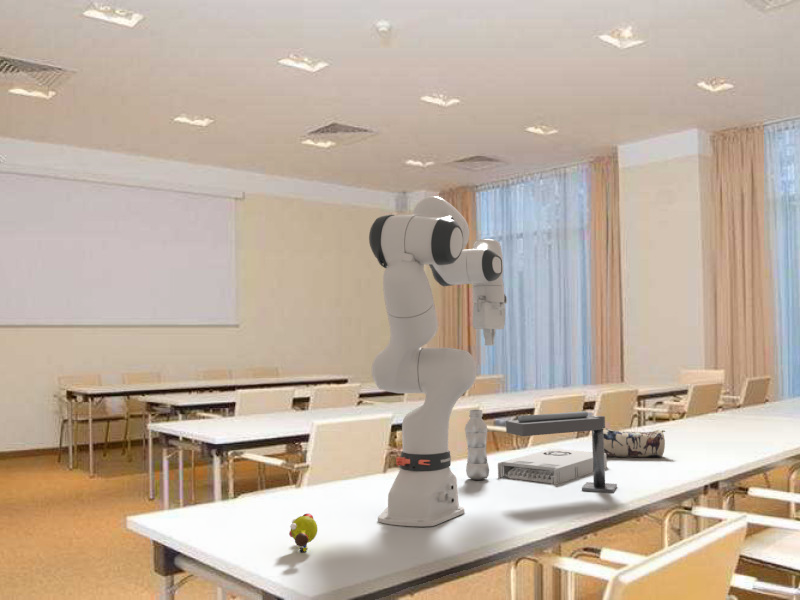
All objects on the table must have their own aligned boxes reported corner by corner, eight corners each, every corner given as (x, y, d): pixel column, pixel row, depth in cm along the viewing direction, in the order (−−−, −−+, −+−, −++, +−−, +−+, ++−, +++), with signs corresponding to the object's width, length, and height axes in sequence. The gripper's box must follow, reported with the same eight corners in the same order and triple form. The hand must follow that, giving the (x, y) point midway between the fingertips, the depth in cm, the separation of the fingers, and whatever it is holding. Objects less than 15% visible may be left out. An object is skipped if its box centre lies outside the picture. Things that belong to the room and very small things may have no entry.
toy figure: (293, 539, 156) (293, 506, 157) (320, 538, 157) (319, 505, 157) (285, 565, 138) (284, 528, 139) (315, 564, 139) (314, 527, 139)
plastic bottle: (488, 481, 213) (486, 411, 214) (464, 481, 214) (463, 411, 215) (490, 477, 219) (488, 409, 220) (467, 477, 221) (465, 409, 222)
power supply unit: (498, 480, 219) (497, 462, 219) (553, 463, 244) (552, 448, 245) (555, 487, 207) (554, 469, 207) (607, 469, 232) (606, 453, 232)
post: (612, 492, 195) (610, 431, 196) (581, 490, 198) (579, 430, 199) (616, 486, 202) (614, 427, 203) (586, 485, 205) (584, 426, 206)
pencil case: (599, 458, 249) (598, 429, 250) (597, 454, 257) (596, 426, 258) (668, 459, 245) (666, 429, 245) (664, 455, 253) (663, 426, 253)
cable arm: (594, 425, 205) (593, 408, 206) (613, 428, 198) (612, 411, 198) (506, 432, 195) (505, 414, 195) (522, 436, 187) (522, 417, 187)
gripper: (488, 294, 202) (490, 345, 201) (508, 298, 220) (509, 344, 220) (466, 295, 204) (467, 346, 203) (487, 298, 223) (489, 345, 222)
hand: (489, 345), depth 212 cm, fingers closed
